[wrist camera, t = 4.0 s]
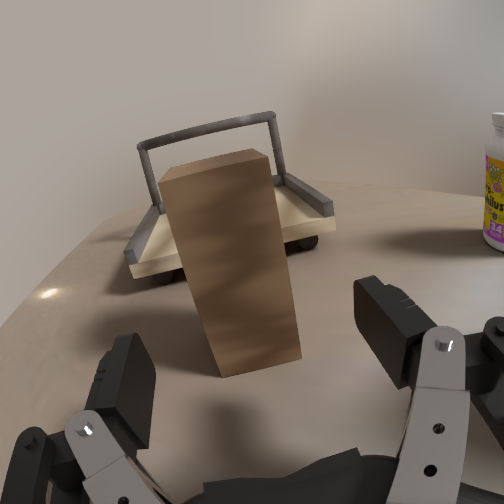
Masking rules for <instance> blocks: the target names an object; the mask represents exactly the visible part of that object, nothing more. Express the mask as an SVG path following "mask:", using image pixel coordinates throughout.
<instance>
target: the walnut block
mask: <svg viewBox="0 0 504 504" xmlns="http://www.w3.org/2000/svg"><path fill="white" fill-rule="evenodd" d="M158 186H159V190H160V193H161V197H162V200H163V204H164V207H165V211H166V214H167V218H168V221H169V225H170V228H171V231H172V234H173V238H174V241H175V244H176V247H177V251H178V254H179V257H180V260H181V263H182V266H183V269H184V273H185V276H186V279H187V282H188V285H189V288H190V291H191V294H192V296H193V299H194V302H195V305H196V308H197V311H198V314H199V317H200V319H201V322H202V325H203V328H204V331H205V333H206V336H207V339H208V341H209V344H210V347H211V350H212V352H213V355H214V357H215V360H216V363H217V365H218V368H219V370H220V373H221V376H222V378H225V377H229V376H234V375H238V374H243V373H247V372H251V371H256V370H260V369H264V368H268V367H272V366H276V365H280V364H283V363H287V362H291V361H295V360H298V359H302V355H301V348H300V341H299V335H298V328H297V321H296V315H295V308H294V302H293V295H292V289H291V283H290V277H289V271H288V265H287V259H286V253H285V247H284V241H283V235H282V229H281V224H280V218H279V212H278V207H277V201H276V196H275V191H274V185H273V180H272V175H271V169H270V164H269V159H268V156H266V155H264V154H262V153H260V152H258V151H256V150H254V149H247V150H242V151H238V152H233V153H229V154H224V155H220V156H216V157H211V158H208V159H203V160H199V161H195V162H191V163H187V164H184V165H180V166H176V167H172V168H170V169H169V170H168V171H167V172H166V174H165V175H164V176H163V177H162V178H161V180H160V181H159V182H158Z"/></svg>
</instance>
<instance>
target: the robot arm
mask: <svg viewBox="0 0 504 504" xmlns="http://www.w3.org/2000/svg"><path fill="white" fill-rule="evenodd" d="M353 288H354V317H355V322H356V325H357V328H358V330H359V331H360V333H361V334H362V336H363V337H364V339H365V340H366V342H367V343H368V345H369V346H370V348H371V349H372V351H373V352H374V354H375V355H376V357H377V358H378V360H379V361H380V363H381V364H382V366H383V367H384V369H385V370H386V372H387V373H388V375H389V377H390V378H391V380H392V381H393V383H394V384H395V386H396V387H397V389H398V390H399V389H402V388H404V387H406V386H408V385H409V387H410V388H411V390H412V392H411V396H410V401H409V406H408V410H407V415H406V419H405V423H404V427H403V431H402V435H401V439H400V442H399V445H398V449H397V452H396V455H395V457H390V456H384V455H363V456H360V453H359V451H358V449H357V447H356V448H353V449H350V450H347V451H345V452H342V453H339V454H335V455H332V456H329V457H326V458H323V459H320V460H318V461H316V462H314V463H312V464H310V465H308V466H307V467H305V468H303V469H301V470H299V471H297V472H295V473H293V474H291V475H289V476H286V477H284V478H236V479H229V480H222V481H215V482H207V483H203V484H204V493H201V494H198V495H196V496H194V497H192V498H190V499H189V500H187V501H185V502H184V503H183V504H504V495H501V494H497V493H493V492H490V491H487V490H483V489H480V488H477V487H474V486H471V485H468V484H465V483H462V482H460V481H461V476H462V470H463V464H464V457H465V450H466V442H467V433H468V422H469V408H470V399H471V401H472V402H473V404H474V405H475V406H476V408H477V409H478V411H479V412H480V414H481V416H482V417H483V419H484V420H485V422H486V423H487V425H488V426H489V428H490V429H491V431H492V433H493V434H494V436H495V437H496V439H497V441H498V442H499V444H500V445H501V447H502V449H503V450H504V378H503V377H504V317H493V318H491V319H489V320H488V321H487V322H486V324H485V326H484V330H483V332H481V333H475V334H470V335H462V334H461V333H460V332H459V331H458V330H456V329H454V328H452V327H448V326H437V325H436V324H435V323H434V322H433V321H432V320H431V319H430V318H429V317H428V315H427V314H426V313H425V312H424V311H423V310H422V309H421V308H420V307H419V306H418V305H416V304H415V302H414V301H413V300H412V299H409V296H407V295H406V294H405V293H404V292H403V291H402V290H401V289H399V288H397V287H395V286H393V285H390V284H388V285H384V284H383V283H382V282H381V281H380V280H379V279H378V278H377V277H376V276H374V275H372V276H369V277H365V278H362V279H358V280H355V281H354V285H353ZM96 372H97V373H96V374H95V377H94V382H93V383H92V386H91V389H90V393H89V396H88V399H87V402H86V406H85V409H84V411H81V412H79V413H77V414H75V415H74V416H73V417H71V418H70V420H69V421H68V423H67V424H66V427H65V430H64V431H61V432H58V433H55V434H51V435H47V434H46V433H45V432H44V431H43V430H42V429H41V428H39V427H30V428H27V429H26V430H24V431H23V432H22V433H21V434H20V435H19V437H18V438H17V441H16V444H15V447H14V450H13V454H12V457H11V461H10V464H9V468H8V472H7V475H6V479H5V483H4V488H3V492H2V496H1V501H0V504H46V502H45V498H46V491H47V486H48V480H49V481H50V482H51V483H53V488H52V495H51V501H50V504H89V502H90V499H91V501H92V502H93V504H177V503H176V502H175V501H174V500H173V499H172V498H171V497H170V496H169V495H168V494H167V493H166V492H165V491H164V490H163V488H162V487H161V486H160V485H159V484H158V483H157V481H156V480H155V479H154V478H153V477H152V476H151V474H150V473H149V472H148V471H147V469H146V468H145V467H144V466H143V465H142V463H141V462H140V461H139V460H138V459H137V458H136V455H137V449H149V438H150V427H151V417H152V408H153V399H154V391H155V383H156V372H155V367H154V364H153V362H152V360H151V358H150V356H149V354H148V352H147V350H146V349H145V347H144V345H143V343H142V341H141V339H140V337H139V335H138V334H137V333H130V334H125V335H120V336H117V337H116V339H115V342H114V345H113V348H112V351H107V353H106V354H105V355H104V356H103V358H102V359H101V360H100V362H99V365H98V368H97V371H96Z"/></svg>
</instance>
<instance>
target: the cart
mask: <svg viewBox="0 0 504 504" xmlns="http://www.w3.org/2000/svg"><path fill="white" fill-rule="evenodd" d="M262 122H268V126H269V131H270V136H271V142H272V147H273V152H274V157H275V163H276V168H277V173H278V175H274V176H272V180H273V185H274V191H275V196H276V201H277V207H278V212H279V218H280V224H281V229H282V235H283V241H284V243H285V242H290V241H294V240H297V242H298V243H299V245H300V246H301V247H302V248H303V249H306V250H309V249H312V248H314V247H315V246H316V245H317V243H318V236H317V235H318V234H323V233H327V232H331V231H335V230H336V225H335V216H334V207H333V201H332V200H331V199H329V198H328V197H326V196H325V195H323V194H322V193H320V192H318V191H317V190H315V189H314V188H312V187H310V186H309V185H307V184H306V183H304V182H302V181H301V180H299V179H297V178H296V177H294V176H293V175H291V174H289V173H286V170H285V164H284V159H283V153H282V148H281V142H280V137H279V132H278V127H277V122H276V114H275V113H274V112H272V111H268V112H262V113H257V114H251V115H246V116H241V117H236V118H231V119H226V120H222V121H218V122H213V123H209V124H205V125H200V126H196V127H192V128H188V129H184V130H180V131H177V132H173V133H169V134H166V135H162V136H159V137H155V138H152V139H149V140H145V141H142V142H140V143H138V145H137V149H138V151H139V155H140V159H141V163H142V167H143V170H144V174H145V178H146V181H147V185H148V188H149V192H150V195H151V199H152V202H153V205H151V207H150V208H149V210H148V212H147V213H146V215H145V216H144V218H143V220H142V221H141V223H140V224H139V226H138V228H137V229H136V231H135V233H134V234H133V236H132V238H131V239H130V241H129V243H128V244H127V246H126V248H125V249H124V254H125V257H126V260H127V262H128V265H129V267H130V270H131V273H132V275H133V278H134V279H137V278H141V277H145V276H149V275H153V278H154V280H155V281H156V282H157V283H158V284H161V285H165V284H168V283H170V282H171V280H172V277H173V270H174V269H178V268H182V267H183V266H182V263H181V260H180V257H179V254H178V251H177V247H176V244H175V241H174V238H173V234H172V231H171V228H170V225H169V221H168V218H167V214H166V211H165V207H164V204H163V202H162V203H161V200H160V196H159V193H158V189H157V186H156V182H155V178H154V174H153V171H152V167H151V163H150V159H149V156H148V151H147V150H150V149H153V148H156V147H160V146H164V145H167V144H171V143H174V142H178V141H182V140H186V139H190V138H193V137H197V136H202V135H205V134H210V133H214V132H219V131H223V130H228V129H232V128H237V127H242V126H247V125H252V124H257V123H262Z"/></svg>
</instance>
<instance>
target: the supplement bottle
mask: <svg viewBox="0 0 504 504" xmlns="http://www.w3.org/2000/svg"><path fill="white" fill-rule="evenodd" d="M492 119H493V125H494V127H495V129H496V132H495V133H496V135H495V137H494V138H492V139H490V140H489V141H488V142H487V144H486V193H485V211H484V225H483V236H484V238H485V240H486V241H487V242H488V243H489V244H490V245H491V246H492V247H494V248H495V249H497V250H500V251H502V252H504V113H492Z"/></svg>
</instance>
